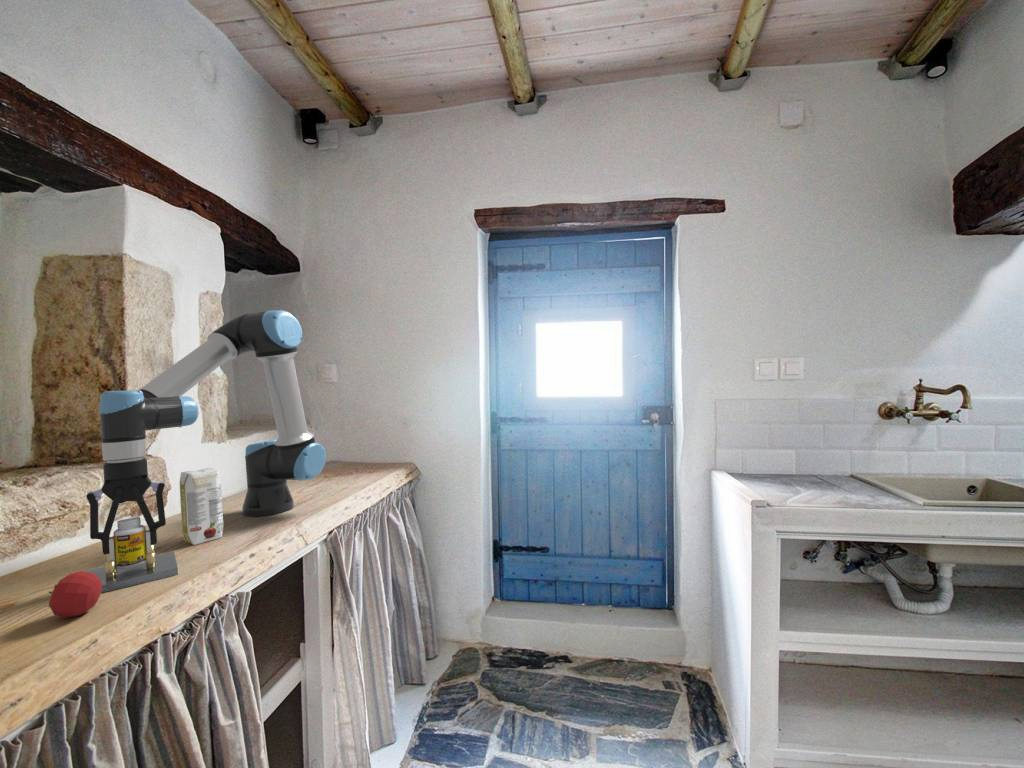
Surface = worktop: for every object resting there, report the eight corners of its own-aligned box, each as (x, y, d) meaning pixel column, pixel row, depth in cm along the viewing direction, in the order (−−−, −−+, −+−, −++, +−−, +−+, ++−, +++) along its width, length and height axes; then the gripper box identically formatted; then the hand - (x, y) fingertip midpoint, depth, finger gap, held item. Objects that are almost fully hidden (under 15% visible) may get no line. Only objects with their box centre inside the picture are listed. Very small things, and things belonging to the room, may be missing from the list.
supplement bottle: (113, 572, 100) (110, 524, 100) (117, 564, 105) (114, 519, 105) (146, 565, 103) (143, 519, 103) (148, 557, 108) (145, 514, 108)
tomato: (104, 563, 88) (55, 562, 86) (81, 603, 82) (27, 603, 80) (113, 585, 93) (66, 585, 91) (91, 625, 87) (40, 626, 85)
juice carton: (226, 537, 129) (222, 468, 129) (190, 547, 122) (186, 474, 122) (215, 532, 133) (211, 466, 133) (180, 542, 126) (176, 472, 126)
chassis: (174, 557, 115) (173, 537, 115) (178, 574, 104) (176, 551, 104) (86, 577, 105) (85, 555, 105) (80, 598, 94) (78, 573, 94)
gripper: (175, 452, 113) (181, 548, 113) (70, 464, 101) (76, 571, 101) (177, 455, 107) (183, 556, 107) (65, 468, 95) (72, 581, 95)
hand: (131, 563), depth 104 cm, fingers closed on supplement bottle, 5 cm apart
